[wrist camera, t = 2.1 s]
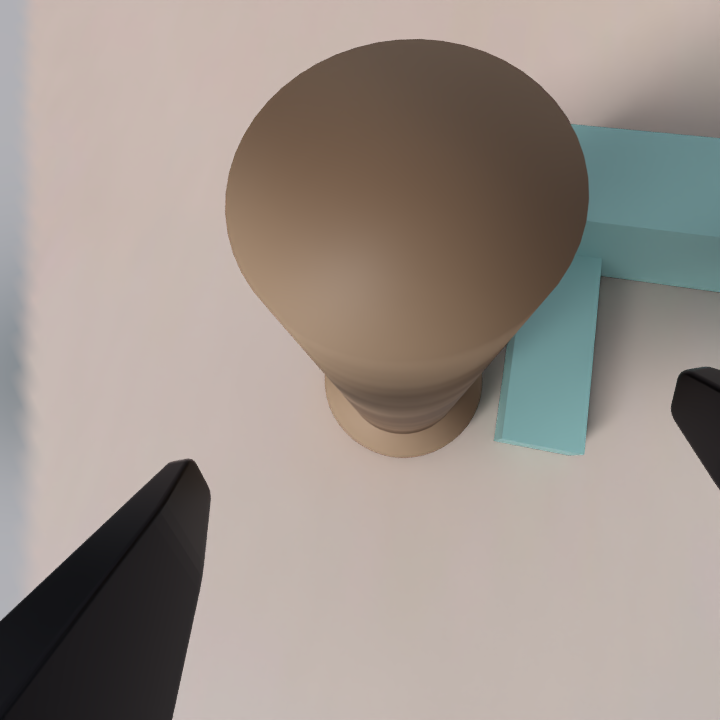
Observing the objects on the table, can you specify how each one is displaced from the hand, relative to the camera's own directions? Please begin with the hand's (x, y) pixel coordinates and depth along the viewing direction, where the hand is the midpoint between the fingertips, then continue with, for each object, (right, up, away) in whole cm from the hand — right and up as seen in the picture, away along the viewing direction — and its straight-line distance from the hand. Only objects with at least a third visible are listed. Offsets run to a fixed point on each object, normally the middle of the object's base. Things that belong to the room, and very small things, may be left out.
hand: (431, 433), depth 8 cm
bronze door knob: (+1, 0, +11) cm, 11 cm away
